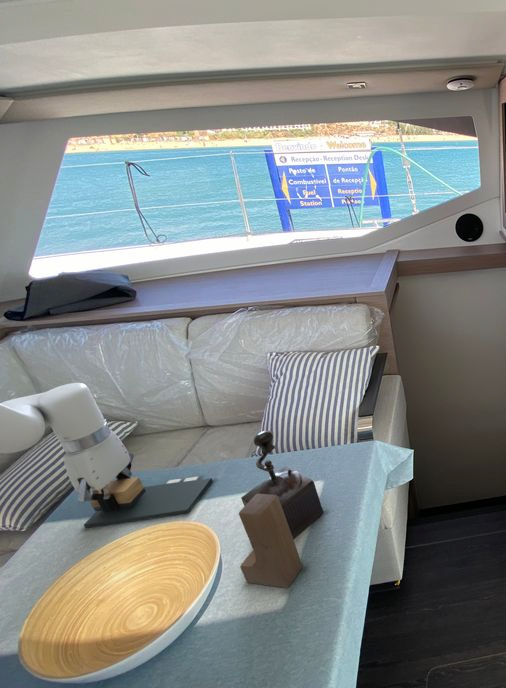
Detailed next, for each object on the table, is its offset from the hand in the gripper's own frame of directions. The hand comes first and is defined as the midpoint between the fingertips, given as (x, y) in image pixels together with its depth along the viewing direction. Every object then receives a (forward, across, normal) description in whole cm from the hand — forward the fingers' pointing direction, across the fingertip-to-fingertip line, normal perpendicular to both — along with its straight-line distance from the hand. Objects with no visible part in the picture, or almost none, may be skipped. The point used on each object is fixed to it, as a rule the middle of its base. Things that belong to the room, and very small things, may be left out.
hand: (120, 500), depth 97 cm
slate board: (+2, 0, +6) cm, 7 cm away
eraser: (0, 0, 0) cm, 0 cm away
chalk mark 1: (+1, -6, +8) cm, 10 cm away
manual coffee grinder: (+2, +10, +40) cm, 42 cm away
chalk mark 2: (+2, -6, +12) cm, 13 cm away
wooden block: (+2, +24, +44) cm, 51 cm away
